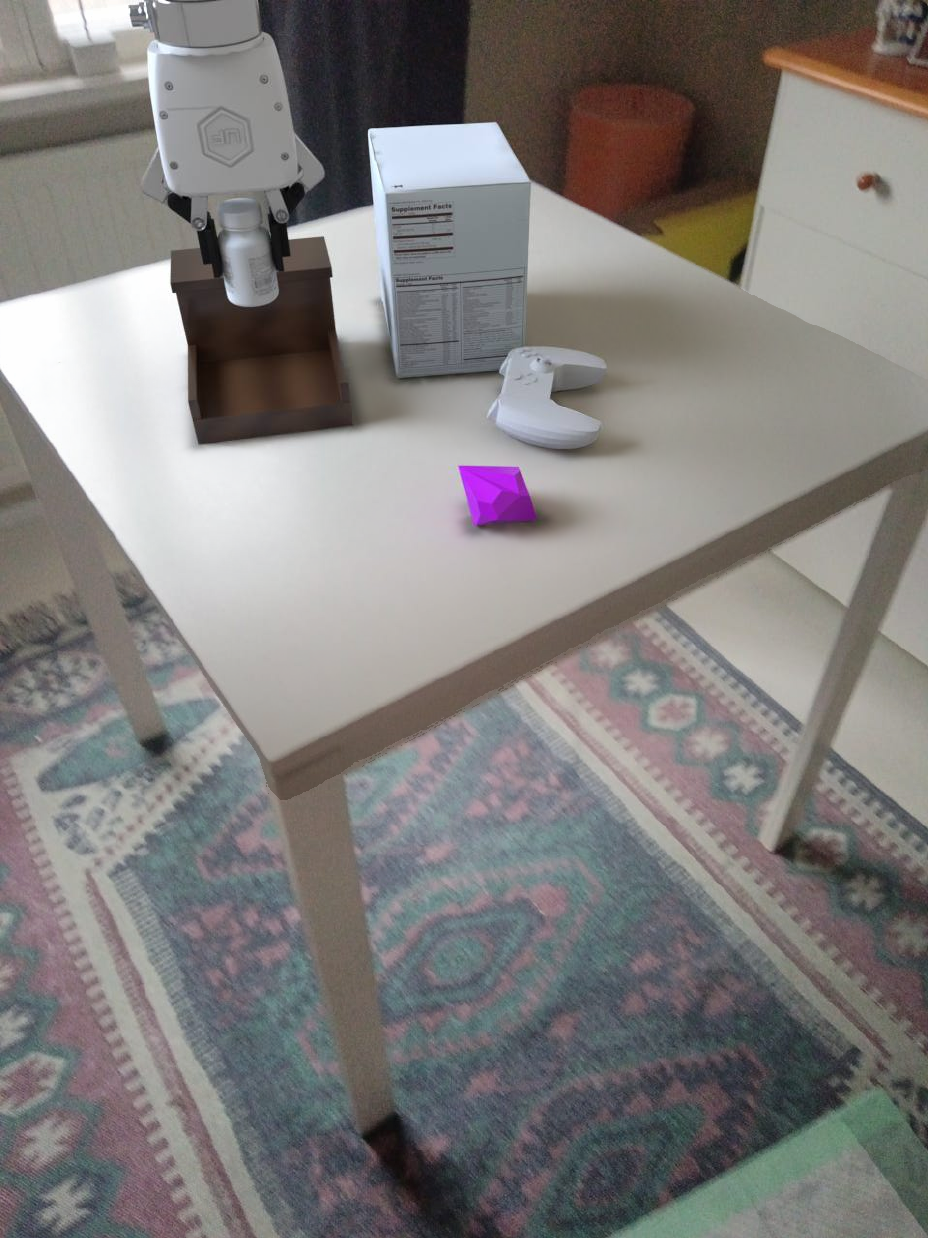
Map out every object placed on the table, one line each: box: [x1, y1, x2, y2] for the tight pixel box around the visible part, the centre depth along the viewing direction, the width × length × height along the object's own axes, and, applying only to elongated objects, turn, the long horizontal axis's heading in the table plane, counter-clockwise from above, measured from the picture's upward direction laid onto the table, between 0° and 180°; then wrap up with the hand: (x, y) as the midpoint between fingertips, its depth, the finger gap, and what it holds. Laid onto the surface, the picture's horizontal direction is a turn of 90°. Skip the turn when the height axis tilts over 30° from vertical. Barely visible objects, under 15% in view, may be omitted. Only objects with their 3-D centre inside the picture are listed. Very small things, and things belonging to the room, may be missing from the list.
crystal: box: [457, 465, 539, 527], centre depth 79 cm, size 5×5×5 cm
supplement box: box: [367, 121, 532, 379], centre depth 96 cm, size 17×13×18 cm
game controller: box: [486, 345, 608, 450], centre depth 90 cm, size 14×4×10 cm
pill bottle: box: [216, 197, 279, 307], centre depth 81 cm, size 4×4×8 cm
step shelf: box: [169, 235, 354, 445], centre depth 91 cm, size 14×16×11 cm
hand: (248, 265), depth 82 cm, fingers closed on pill bottle, 4 cm apart
